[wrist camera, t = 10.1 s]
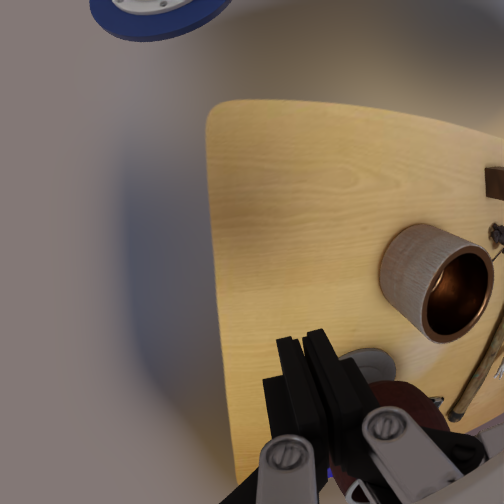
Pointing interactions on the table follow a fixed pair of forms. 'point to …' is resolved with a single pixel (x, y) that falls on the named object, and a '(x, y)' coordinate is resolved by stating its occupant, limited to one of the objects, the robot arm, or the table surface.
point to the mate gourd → (388, 394)
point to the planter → (437, 281)
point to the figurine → (498, 236)
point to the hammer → (478, 376)
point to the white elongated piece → (500, 369)
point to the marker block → (495, 182)
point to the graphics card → (437, 401)
